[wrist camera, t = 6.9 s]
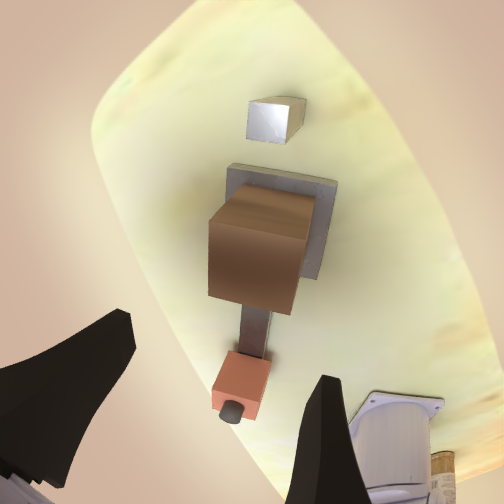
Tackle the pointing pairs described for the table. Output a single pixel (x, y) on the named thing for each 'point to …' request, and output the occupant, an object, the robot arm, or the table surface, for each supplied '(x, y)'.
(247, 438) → the table surface
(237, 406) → the lever handle
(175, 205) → the table surface
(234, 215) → the block
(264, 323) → the rail
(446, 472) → the sprinkles bottle
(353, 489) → the robot arm
